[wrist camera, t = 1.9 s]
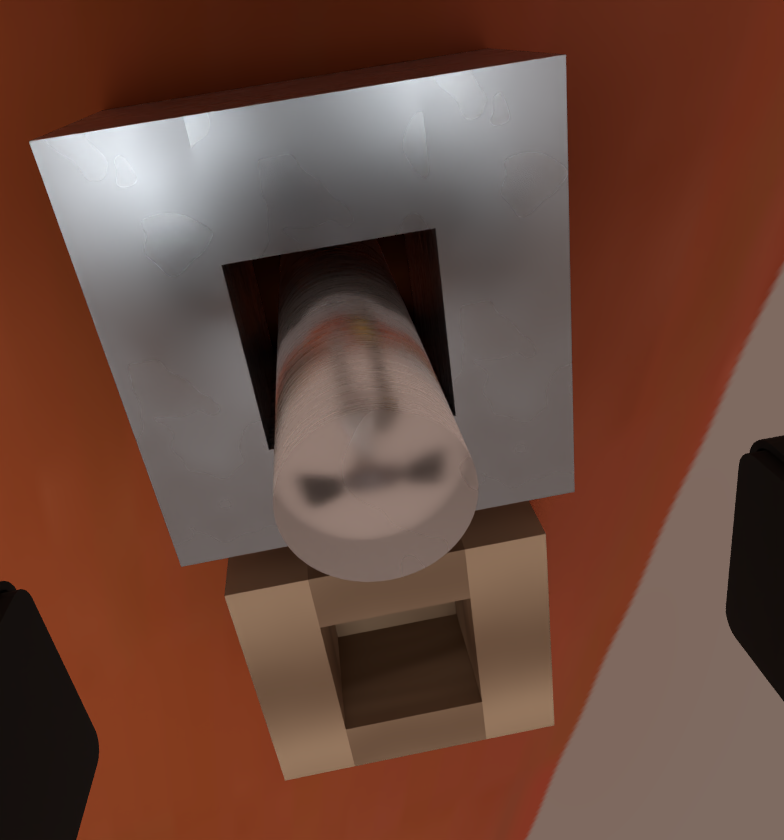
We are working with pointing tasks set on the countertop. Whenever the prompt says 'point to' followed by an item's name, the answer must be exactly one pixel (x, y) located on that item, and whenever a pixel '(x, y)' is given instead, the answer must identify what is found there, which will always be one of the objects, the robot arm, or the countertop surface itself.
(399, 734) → the frame
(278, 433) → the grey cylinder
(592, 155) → the countertop surface
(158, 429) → the socket block
